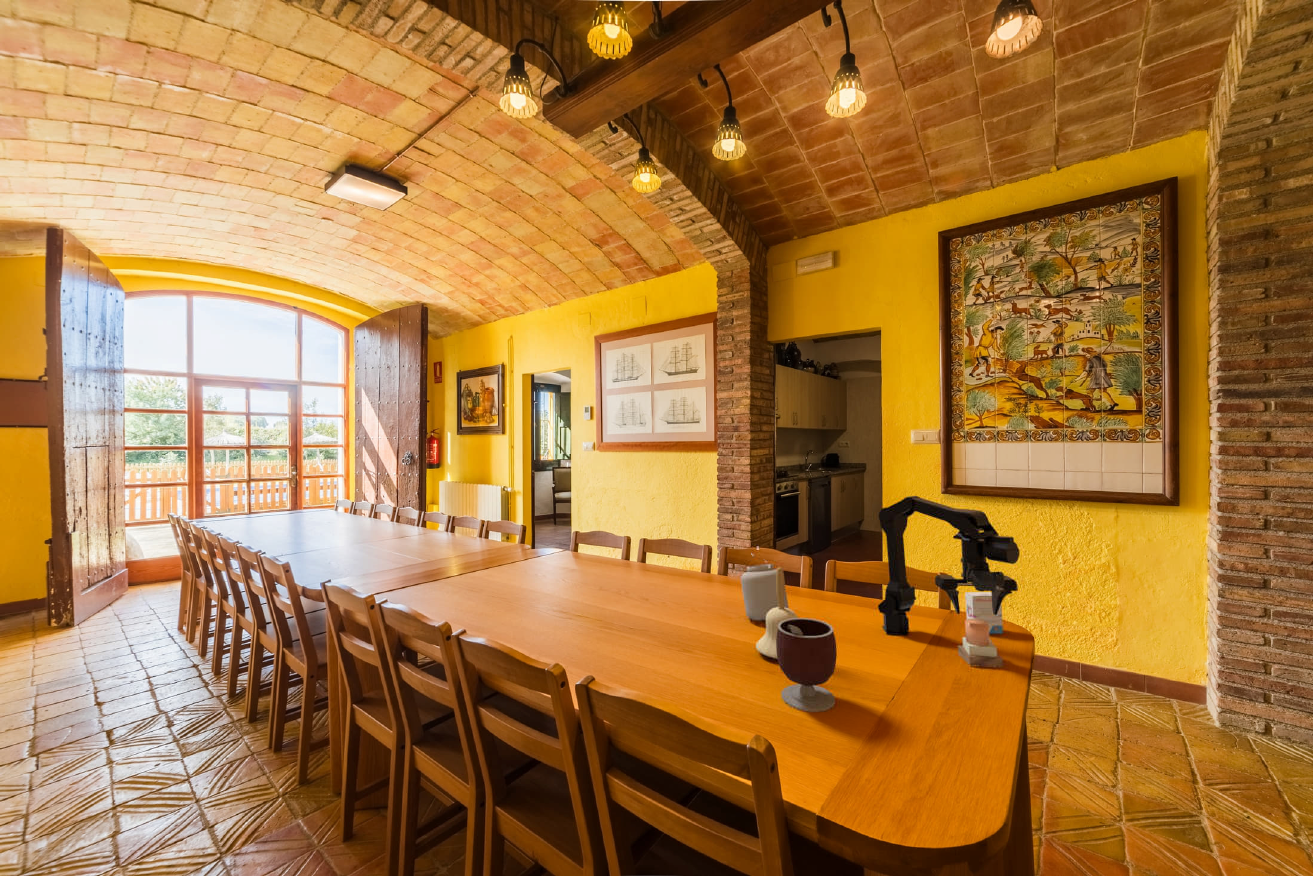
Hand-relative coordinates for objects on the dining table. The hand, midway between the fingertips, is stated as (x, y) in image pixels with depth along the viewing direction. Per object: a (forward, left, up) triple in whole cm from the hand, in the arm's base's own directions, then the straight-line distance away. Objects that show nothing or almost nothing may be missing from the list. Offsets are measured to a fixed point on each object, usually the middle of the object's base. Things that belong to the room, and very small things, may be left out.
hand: (976, 614), depth 141 cm
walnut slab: (0, 0, -13) cm, 13 cm away
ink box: (+11, +24, -13) cm, 29 cm away
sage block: (0, 0, -10) cm, 10 cm away
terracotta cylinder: (0, 0, -8) cm, 8 cm away
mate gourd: (-48, -27, -13) cm, 57 cm away
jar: (-57, +30, -13) cm, 66 cm away
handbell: (-52, 0, -13) cm, 54 cm away
